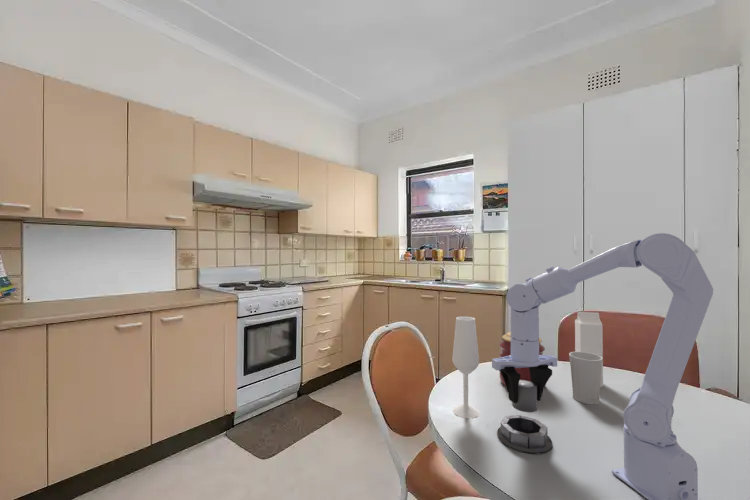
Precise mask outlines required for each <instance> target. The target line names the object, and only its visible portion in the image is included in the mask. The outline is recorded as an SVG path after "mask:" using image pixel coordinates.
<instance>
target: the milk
mask: <svg viewBox="0 0 750 500" xmlns="http://www.w3.org/2000/svg"><path fill="white" fill-rule="evenodd" d="M603 329H604V328H603V323H602V321H601V319H600V313H599V312H594V311H593V312H592V311H591V312H589V311H577V316H576V318H575V319H574V339H575V340H574V346H575V347H574V352H587V353H592V354H596V355H599V356H601V357H602V358H603V359H604V355H603V354H604V351H603V350H604V347H603V346H604V343H603V342H604V341H603V340H604V338H603V337H604V336H603ZM600 388H604V362H603V363H602V371H601V383H600Z"/></svg>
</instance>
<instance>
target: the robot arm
mask: <svg viewBox="0 0 750 500" xmlns="http://www.w3.org/2000/svg"><path fill="white" fill-rule="evenodd" d="M642 266H643V267H645V268H646V269H648V270H649V271H650V272H652V273H653V274H655V275H656V276H658V277H660V279H661V280H662V282H663V283H664V284H665V285H666V286H667V288H668V289H669V290H670V291H671V293H672V298H671V300H670V302H669V303H670V304H669V305H668V306H669V307H668V310H667V312H666V314H665V318H664V320H663V323H662V326H661V329H660V332H659V335H658V338H657V340H656V343H655V346H654V348H653V351H652V354H651V358H650V360H649V363H648V365H647V368H646V370H645V374H644V376H643V379H642V382H641V384H640V386H639V388H637V389H635V390H634V391H633V392H631V395H630V397H629V402H628V404H627V406H626V407H625V408H624V410H623V413H622V414H623V415H622V418H623V419H622V420H623V467H621V468H619V467H618V468H612V469H611V473H612V474H613V475H615V476H616V477H617V478H618V479H620V480H621V481H623V482H624V483H625V484H627V485H628V486H629V487H631V488H632V489H634V490H635V492H637V493H639V494H640V495H641V496H642V497H644V498H645V499H646V500H698V499H700V498H699V495H698V493H699V491H698V490H699V489H698V487H699V485H698V480H699V479H698V477H699V476H698V473H699V472H698V470H699V469H698V463H697V461H696V459H695V458H694V457H693V455H691V454H690V453H688V452H687V451H686V450H685V449H683V448H682V446H681V445H680V444H679V443H678V440H677V435H676V434H675V433H674V431H673V430H672V420H673V416H674V412H675V409H674V406H673V404H674V400H675V397H676V394H677V391H678V388H679V385H680V383H681V380H682V377H683V375H684V373H685V369H686V367H687V364H688V361H689V358H690V355H692V351H693V348H694V345H695V343H696V340H697V337H698V334H699V332H700V330H701V327H702V324H703V321H704V319H705V316H706V313H707V310H708V308H709V306H710V304H711V303H710V302H711V300H712V298H713V294H714V288H713V285H712V283H711V281H710V279H709V277H708V275H707V273H706V271H705V270H704V268H703V265H702V264H701V261H700V260H699V258H698V256H697V254H696V252H695V251H694V249H692V248H691V247H690V246H689V245H687V243H686V242H684V241H683V240H681V238H679V237H678V236H676V235H673V234H670V233H666V232H665V233H664V232H659V233H654V234H651V235H648V236H647V237H645V238H643V239H636V240H633V241H630V242H627V243H624V244H623V243H622V244H620V245H618V246H615V247H613V248H612V247H611V248H610V249H609V250H607V251H604V252H603V253H601V254H598V255H596V256H594V257H592V258H589V259H588V260H586V261H583V262H581V263H579V264H577V265H575V266H573V267H570V268H565V267H563V266H557V267H554V266H550V267H547V268H546V269H545V271H546V272H544V273H542V274H539V275H537V276H535V277H527V278H526V279H525V283H516V284H514V285H513V286H511V287H510V288H509V289H508V291H507V293H506V296H505V297H506V301H507V304H508V305H509V307H510V332H511V355H509V356H505V357H501V358H500V357H496V358H491V368H492V369H494V370H495V371H499V374H500V373H501V375H502V377H503V379H504V382H505V385H506V386H505V385H504V386H505V387H506V391H507V394H508V399H509V400H510V402H513V403H517V401H518V385H519V380H520V377H521V375H520V374H519V373H517V372H516V370H515V368H523V367H529V371H530V376H531V382H533V383H535V384H536V385H537V402H541V401H542V397H543V394H544V390H545V387H546V385H547V382H548V381H549V379H550V378H551V377H552V376H553V369H552V368H550V367H555V368H556V367H558V357H556V356H554V355H551V354H549V355H548V354H547V355H545V354H543V355H539V338H540V317H539V313H540V312H539V308H540V306H541V305H542V304H544V305H545V304H547V303H549V302H552V301H555V300H558V299H560V298H562V297H565V296H568V295H570V294H573V293H574V292H575V290H576V287H577V286H578V284H579V283H581V282H583V281H585V280H586V281H587V280H589V279H591V278H595V277H597V276H600V275H601V274H605V273H607V272H610V271H612V270H615V269H618V268H640V267H642Z"/></svg>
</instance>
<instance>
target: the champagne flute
mask: <svg viewBox="0 0 750 500" xmlns="http://www.w3.org/2000/svg"><path fill="white" fill-rule="evenodd" d="M477 335H478V334H477V324H476V318H475V317H472V316H457V317H456V318H455V326H454V336H453V337H454V338H453V349H452V359H451V360H452V363H453V365H454V366H455V368H456V370H458V371H459V372H460V373H461V374H463V375H462V376H463V387H462V388H463V403H462V404H460V405H457V406H455V407H453V408H452V412H453V414H454V415H456V416H458V417H460V418H463V419H464V418H465V419H474V418H477V417H479V416H480V411H479V410H478V409H477V408H475V407H474V406H472V405H470V404H469V375H470V374H471V373H473V372H474V371H475V370H476V369H477V368H478V367H479V365H480V356H479V344H478V336H477Z"/></svg>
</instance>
